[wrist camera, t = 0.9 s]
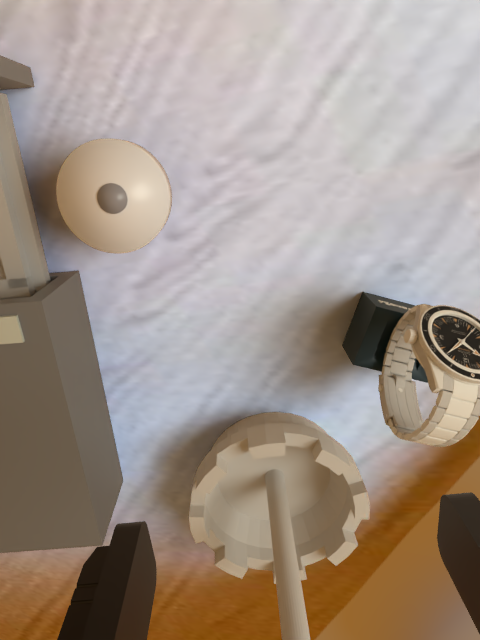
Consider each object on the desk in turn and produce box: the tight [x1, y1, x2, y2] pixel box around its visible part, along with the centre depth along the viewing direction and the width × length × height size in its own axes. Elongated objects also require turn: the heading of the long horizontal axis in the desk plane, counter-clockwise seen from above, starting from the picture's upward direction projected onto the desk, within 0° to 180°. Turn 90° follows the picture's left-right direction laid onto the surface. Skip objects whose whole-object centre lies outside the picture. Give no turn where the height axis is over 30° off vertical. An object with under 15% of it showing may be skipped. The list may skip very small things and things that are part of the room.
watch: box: [342, 292, 480, 447], centre depth 28 cm, size 6×8×11 cm
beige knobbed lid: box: [56, 139, 172, 253], centre depth 25 cm, size 6×6×2 cm
